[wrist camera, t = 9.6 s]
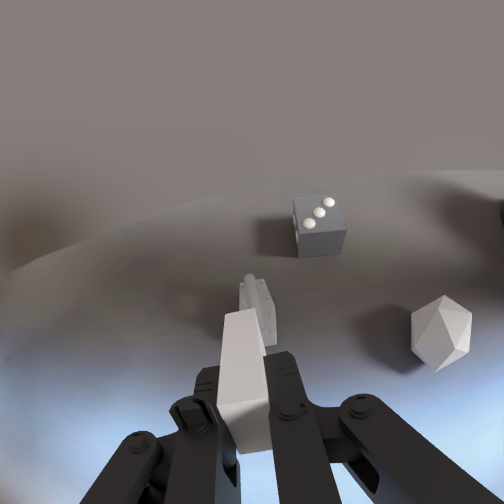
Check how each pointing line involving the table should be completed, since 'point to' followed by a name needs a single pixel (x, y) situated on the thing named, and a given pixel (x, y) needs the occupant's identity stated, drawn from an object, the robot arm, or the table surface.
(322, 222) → the dotted block
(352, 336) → the table surface
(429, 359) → the die
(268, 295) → the padlock
